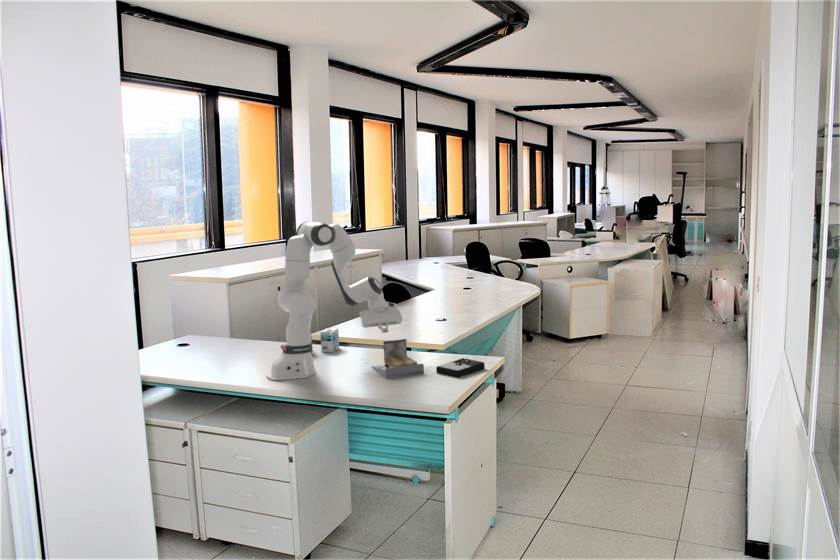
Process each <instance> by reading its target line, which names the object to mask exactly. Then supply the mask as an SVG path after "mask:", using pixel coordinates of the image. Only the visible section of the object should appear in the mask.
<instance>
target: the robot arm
mask: <svg viewBox="0 0 840 560" xmlns="http://www.w3.org/2000/svg"><path fill="white" fill-rule="evenodd" d="M313 246H315V247H325V246H328V249H329V250H330V253H331V254H332V260H331V262H330V263H331V269H332V271H333V274H334V276H335V279H336V282H337V284H338V287H339V289H340V291H341V295H342V299H343V301H344V303H345V304H346V305H347V306H351V307H355V306H357V305H359V304H360V303H362V302H365V301H366V302H367V305H368V309H363V310H360V311H359V312H358V314H359V318H360V320H361V322H360V323H361V326H362V327H363V328H365V329H366V328H374V327H377V328H378V329H379V330H381V333H382V334H383V333H385V334H386V333H389V326H393V325H401V324H402V322H403V316H402V313H401V310H400V309H399V308H397V304H396V303H394V302H389V301H386V299H385V298H384V292H383V289H382V286H381V283H380V282H379V281H378V279H376V278H374V277H371V276H367V277H365V278H363V279H361V280H359V281H357V282H355V283H353V284H348V280H347V278H346V275H345V274H344V273H345V272H344V270H345V268H346V267H347V266H349V264H350V263H351V261H353V259H354V257H355V254H356V246H355V244H354V241H353V240H352V239H351V237H350V236H349V234H348V233H347V231H346V230H345V229H344V228H343V227H342V226H341V225H340V224H339V223H330V224H327V223H325V222H319V221H315V220H314V221H304V222H303V223H300V224H299V226H298V227H297V228H296V232H295V234H294V236H292V237H290V238H289V239H288V240H287V244H286V249H285V265H284V280H283V284H282V288H281V291H280V292H279V294H278V297H277V304H278V306H279V307H280V308H281V309H282V310H283V311H285V312H286V313H289V318H288V323H287V325H286V328H285V336H286V338H285V339H286V344H283V343H282V344H280V347H279V348H281V350H282V353H281V354H280V355H279V356H278V357H276V358H275V359H274V360H273V361H272V363H271V368H270V369H271V370H269V371H267V372H266V378H267V379H268V380H270V381H283V380H284V381H286V380H294V379H296V378H299V379H306V377H307V378H309V377H310V376H313V375H315V374H316V373H317V371H316V367H315V365H314V360H313V353H314V352H313V342H312V343H311V336H312V335H311V334H312V333H311V328H310V325H311V323H312V318H313V313H314V312H315V311H316V307H317V302H316V299H315V297H314V296H312V295H311V294H310V293H309V292H307V291H305V288H306V285H307V282H308V281H309V279H310V271H311V270H310V269H311V267H310V266H311V265H310V264H311V263H310V262H311V251H312V250H311V249H313ZM311 326H312V325H311ZM384 326H385V327H384ZM310 333H311V334H310ZM312 352H313V353H312ZM296 380H297V379H296Z"/></svg>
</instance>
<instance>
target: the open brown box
mask: <svg viewBox="0 0 840 560" xmlns="http://www.w3.org/2000/svg"><path fill="white" fill-rule="evenodd" d="M382 344H383V361H384V362H383V363H384V365H385V367H387V368H388V367H389V366H390V367H400V366H407V365H415V364H418V362H417V361H416V360H414V359H413V358H411V357H409V356H408V355H407V352H408V349H407V339H406V338H402V339H395V340H394V339H393V340H386V341H383V343H382Z"/></svg>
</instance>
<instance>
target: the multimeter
mask: <svg viewBox="0 0 840 560" xmlns="http://www.w3.org/2000/svg"><path fill="white" fill-rule="evenodd" d="M485 367H486V365H485V362H484V361H478V360H473V359H469V358H464V357H463V358H460V359H459V358H458V359H457V360H453V361H449V362H446V363H443V364H440V365H437V366H436V367H435V369H436V374H437V373H439V375H442V374H444V375H443V376H446V375H448V376H449V377H451V376H452V378H455V377H457V378H456V379H459V377H460V378H462V376H463V377H465V376H468V375H472V374H474V373H476V372H480V371H483V370H485ZM448 376H447V377H448Z"/></svg>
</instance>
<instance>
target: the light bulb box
mask: <svg viewBox="0 0 840 560" xmlns="http://www.w3.org/2000/svg"><path fill="white" fill-rule="evenodd" d="M339 337H340V335H339V328H334V327H333V328H330V327H326V328H325V329H324V330H323V329H322V331H320V346H321V348H320V351H321V353H334V352H335V351H337V350H338V349H340V339H339Z"/></svg>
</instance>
